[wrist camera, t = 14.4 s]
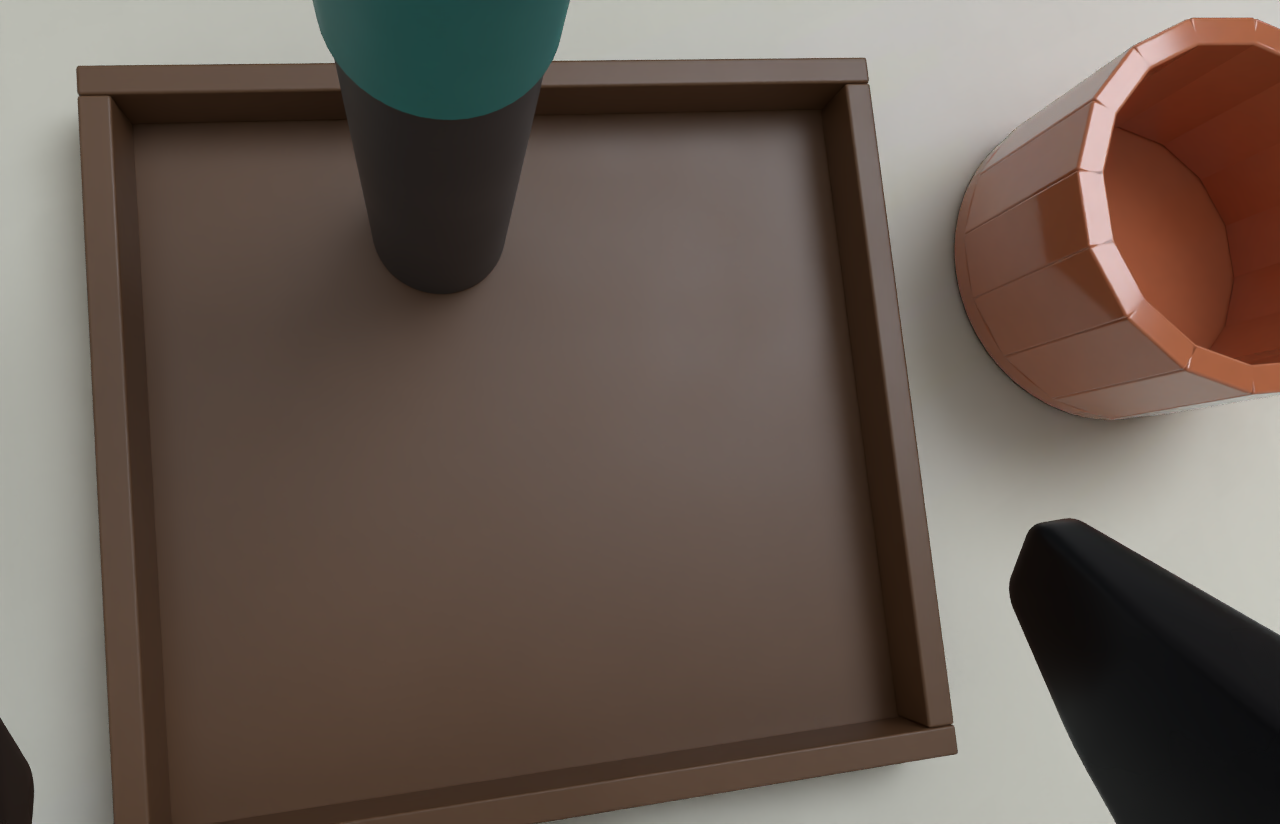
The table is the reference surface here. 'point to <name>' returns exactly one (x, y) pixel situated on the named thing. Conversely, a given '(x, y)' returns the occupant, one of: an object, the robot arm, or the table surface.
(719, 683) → the tray
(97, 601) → the table surface
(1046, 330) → the pen pot
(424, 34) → the disc
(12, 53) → the table surface
